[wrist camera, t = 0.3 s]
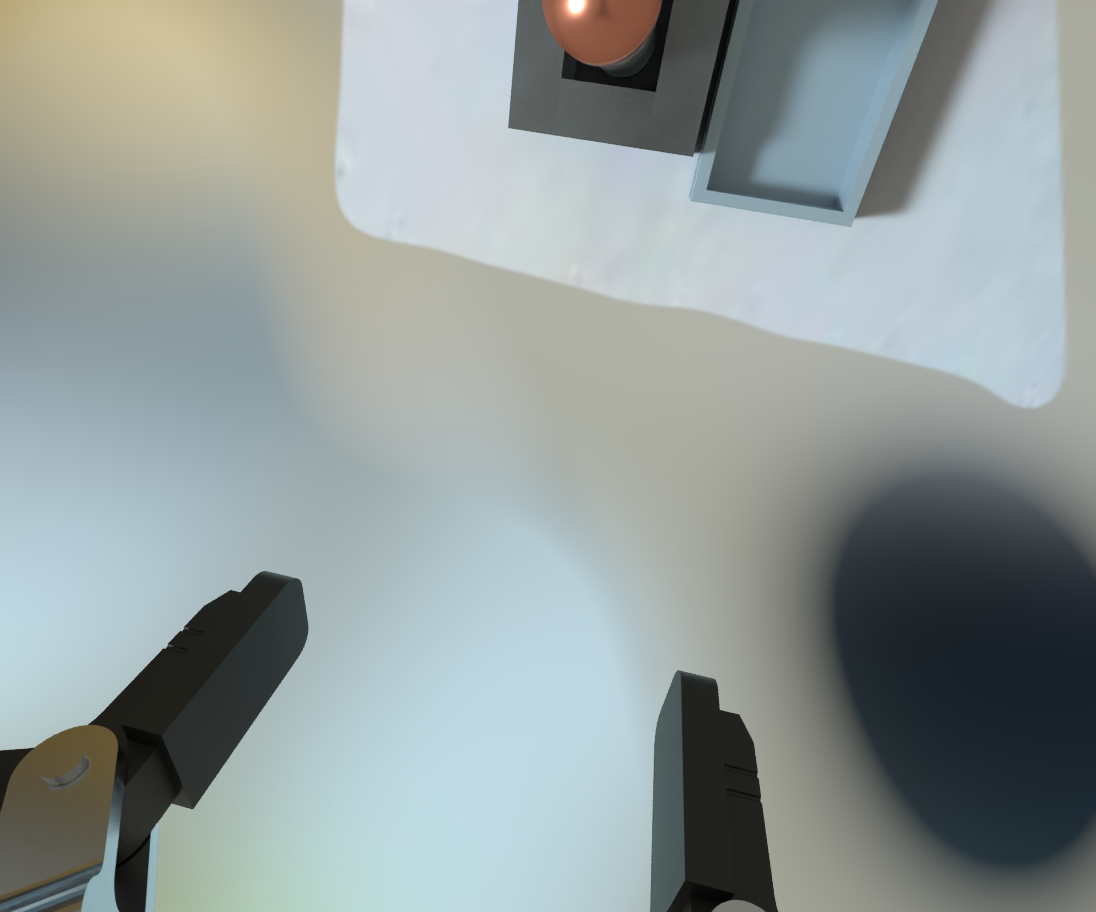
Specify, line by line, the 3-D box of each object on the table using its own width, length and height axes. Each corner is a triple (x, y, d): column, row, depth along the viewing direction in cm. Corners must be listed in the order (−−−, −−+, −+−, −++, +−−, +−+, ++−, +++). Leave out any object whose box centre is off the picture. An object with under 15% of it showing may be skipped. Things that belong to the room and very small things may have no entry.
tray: (760, -100, 25) (769, -123, 22) (949, -79, 24) (976, -100, 22) (689, 196, 31) (691, 200, 29) (838, 220, 30) (850, 226, 28)
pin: (590, -18, 27) (549, -101, 18) (673, -8, 27) (676, -87, 17) (577, 80, 29) (534, 54, 20) (653, 91, 29) (647, 70, 19)
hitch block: (546, -94, 26) (528, -129, 23) (741, -71, 25) (753, -103, 22) (525, 128, 31) (508, 128, 27) (689, 154, 30) (693, 156, 26)
